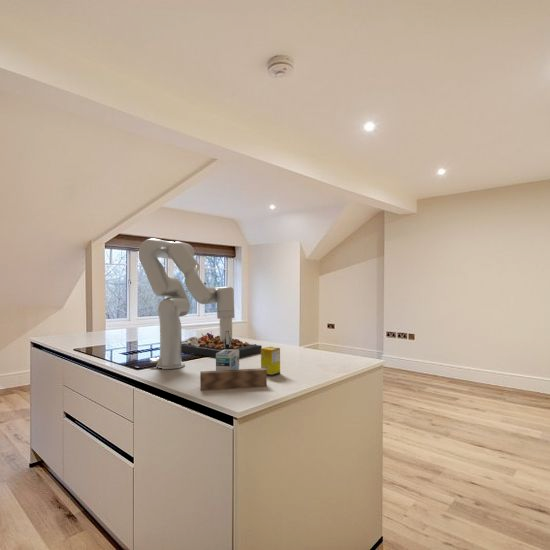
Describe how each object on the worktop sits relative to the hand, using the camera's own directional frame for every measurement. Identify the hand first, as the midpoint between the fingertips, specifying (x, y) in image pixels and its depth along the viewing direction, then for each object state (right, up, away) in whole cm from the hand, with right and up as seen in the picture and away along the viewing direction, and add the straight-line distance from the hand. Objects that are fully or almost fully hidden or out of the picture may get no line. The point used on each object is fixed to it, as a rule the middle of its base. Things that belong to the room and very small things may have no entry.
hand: (227, 356), depth 161 cm
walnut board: (+6, -5, -26) cm, 28 cm away
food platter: (-12, -8, +44) cm, 46 cm away
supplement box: (+19, -6, -7) cm, 21 cm away
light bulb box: (+2, -6, -13) cm, 14 cm away
